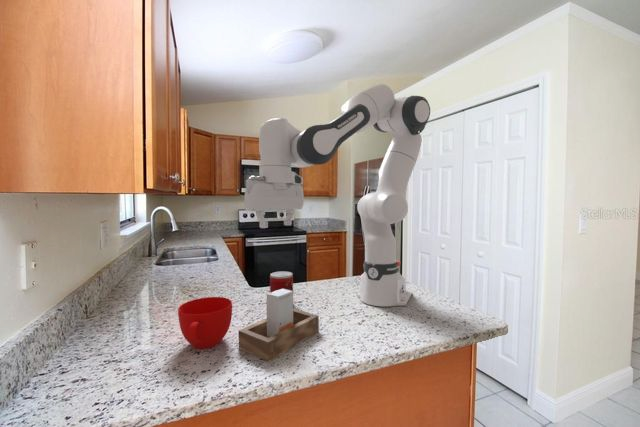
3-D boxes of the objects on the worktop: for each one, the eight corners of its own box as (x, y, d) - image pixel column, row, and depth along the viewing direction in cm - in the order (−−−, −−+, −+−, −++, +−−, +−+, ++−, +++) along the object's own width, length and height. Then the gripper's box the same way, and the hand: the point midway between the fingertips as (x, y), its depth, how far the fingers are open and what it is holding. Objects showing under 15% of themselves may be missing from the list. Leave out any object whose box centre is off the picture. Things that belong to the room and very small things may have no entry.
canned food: (289, 309, 100) (289, 277, 100) (267, 308, 102) (266, 276, 101) (296, 301, 108) (295, 271, 107) (274, 300, 109) (274, 270, 109)
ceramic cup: (162, 366, 66) (161, 322, 66) (190, 333, 83) (189, 297, 83) (222, 364, 67) (221, 320, 67) (237, 331, 84) (236, 296, 84)
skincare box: (278, 343, 75) (277, 296, 75) (266, 339, 78) (265, 293, 77) (294, 334, 80) (293, 290, 80) (282, 330, 83) (282, 288, 82)
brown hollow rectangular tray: (290, 322, 89) (290, 307, 89) (318, 331, 83) (318, 315, 83) (238, 348, 74) (238, 330, 74) (268, 361, 68) (268, 342, 68)
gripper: (254, 174, 74) (255, 230, 75) (306, 178, 90) (307, 224, 91) (238, 176, 78) (239, 229, 78) (291, 179, 94) (291, 223, 95)
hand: (276, 226), depth 85 cm, fingers open, 8 cm apart
